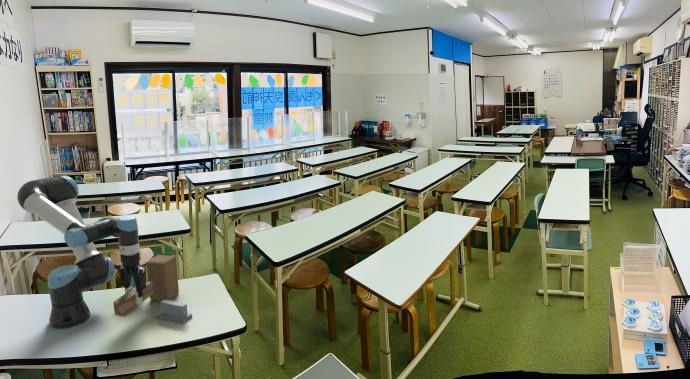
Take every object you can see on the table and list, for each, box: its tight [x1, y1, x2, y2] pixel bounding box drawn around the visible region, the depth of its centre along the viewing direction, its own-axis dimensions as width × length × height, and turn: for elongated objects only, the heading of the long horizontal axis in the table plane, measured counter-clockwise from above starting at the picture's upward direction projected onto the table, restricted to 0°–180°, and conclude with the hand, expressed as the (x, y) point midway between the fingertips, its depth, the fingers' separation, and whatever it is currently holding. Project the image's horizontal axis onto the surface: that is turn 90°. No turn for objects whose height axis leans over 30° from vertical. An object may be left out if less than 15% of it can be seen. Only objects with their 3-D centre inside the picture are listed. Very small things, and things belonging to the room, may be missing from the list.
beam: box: [112, 280, 153, 317], centre depth 188 cm, size 4×20×6 cm, turn 168°
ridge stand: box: [156, 300, 193, 325], centre depth 191 cm, size 14×6×7 cm, turn 70°
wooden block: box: [145, 254, 180, 302], centre depth 208 cm, size 10×10×20 cm
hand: (134, 302), depth 188 cm, fingers closed on beam, 4 cm apart
